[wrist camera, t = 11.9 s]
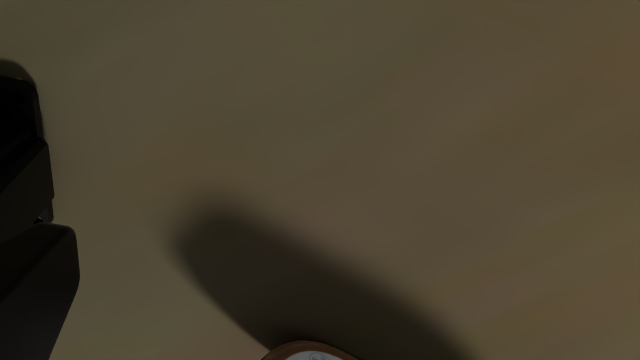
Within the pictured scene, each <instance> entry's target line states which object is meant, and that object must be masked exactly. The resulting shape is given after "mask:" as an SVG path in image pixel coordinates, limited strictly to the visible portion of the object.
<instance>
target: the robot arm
mask: <svg viewBox="0 0 640 360" xmlns="http://www.w3.org/2000/svg"><path fill="white" fill-rule="evenodd" d="M17 91H18V92H21V93H22V94H23V95H24V96H25V98H26V100H25V99H23V98H21V97H20V96H19V95H18V93H17ZM53 198H54V188H53V180H52V171H51V163H50V155H49V147H48V144H47V142H46V141H45V139H44V137H43V129H42V121H41V114H40V106H39V98H38V93H37V90H36V89H35V88H34V86H33V85H31V84H30V83H29V82H26V81H23V80H19V79H13V78H7V77H1V76H0V360H49V357H50V355H51V352H52V350H53V348H54V345H55V343H56V340H57V338H58V336H59V333H60V331H61V328H62V326H63V324H64V321H65V319H66V316H67V314H68V312H69V309H70V307H71V304H72V302H73V300H74V297H75V295H76V292H77V289H78V286H79V281H80V269H79V260H78V250H77V240H76V234H75V232H74V230H73V229H72V228H71V227H69V226H64V225H59V224H53V223H51V222H52V221H53V217H54V216H53V208H52V199H53ZM38 217H40V218H41V219H39V218H38Z"/></svg>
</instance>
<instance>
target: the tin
mask: <svg viewBox="0 0 640 360" xmlns="http://www.w3.org/2000/svg"><path fill="white" fill-rule="evenodd" d="M261 360H359V359H357V358H355V357H353V356H351V355H349V354H347V353H345V352H343V351H341V350H339V349H337V348H334V347H332V346H330V345H327V344H324V343H320V342H314V341H305V340H303V341H294V342H289V343H286V344H283V345H280V346H278V347H277V348H275V349H273V350H272V351H270V352H269V353H268V354H267V355H265V356H264V357H263V358H262V359H261Z"/></svg>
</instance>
